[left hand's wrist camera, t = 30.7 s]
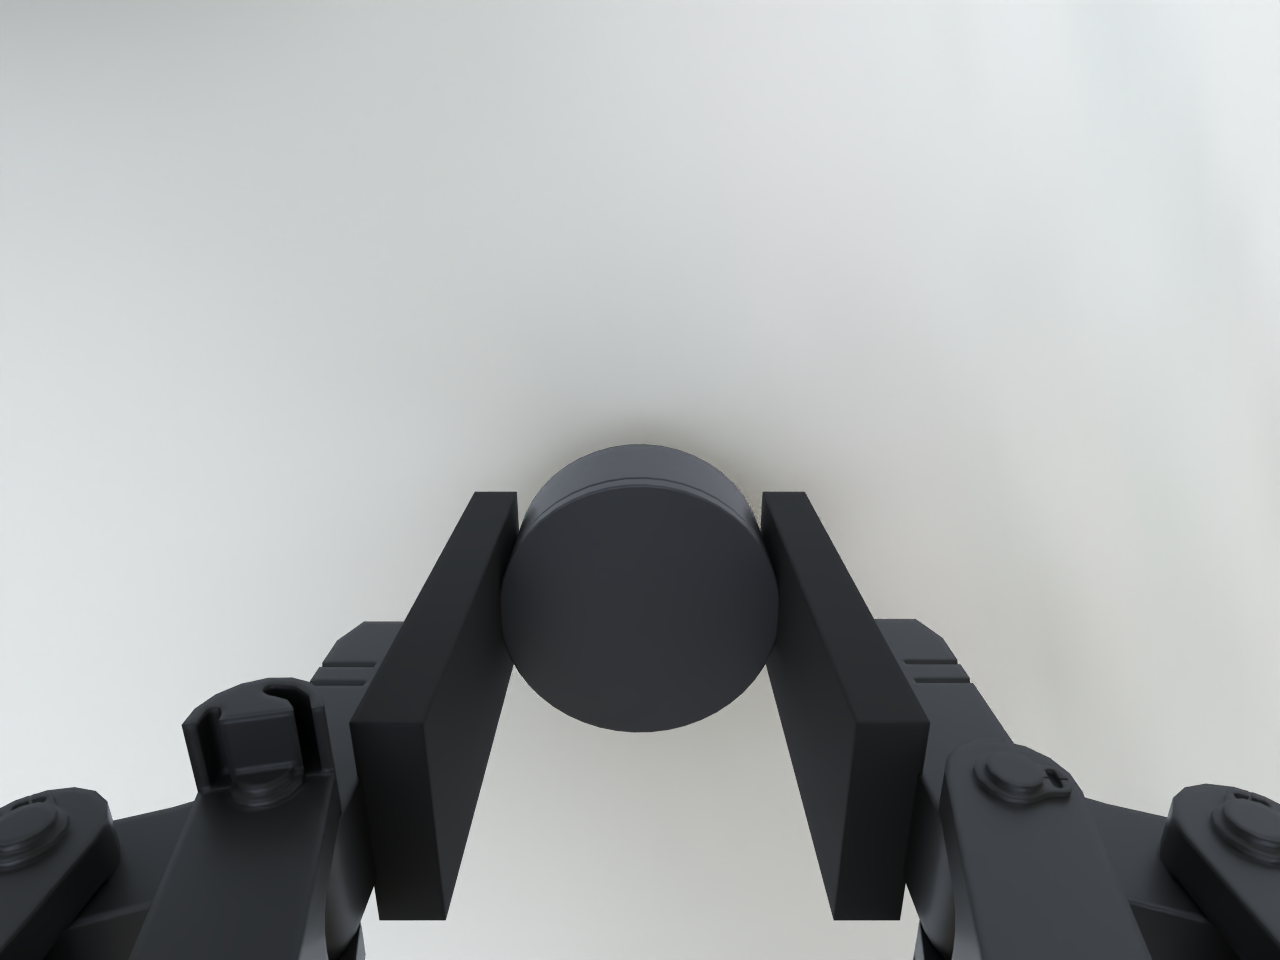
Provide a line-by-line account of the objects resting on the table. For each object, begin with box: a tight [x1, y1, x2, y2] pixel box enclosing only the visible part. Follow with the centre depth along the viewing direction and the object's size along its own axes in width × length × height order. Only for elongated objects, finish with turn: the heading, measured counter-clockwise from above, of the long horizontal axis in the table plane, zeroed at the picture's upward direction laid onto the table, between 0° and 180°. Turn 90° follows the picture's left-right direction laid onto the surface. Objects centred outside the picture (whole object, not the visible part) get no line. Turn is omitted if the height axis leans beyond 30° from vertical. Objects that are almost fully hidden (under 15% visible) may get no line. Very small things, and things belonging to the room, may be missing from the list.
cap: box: [500, 444, 779, 732], centre depth 13 cm, size 4×4×2 cm
